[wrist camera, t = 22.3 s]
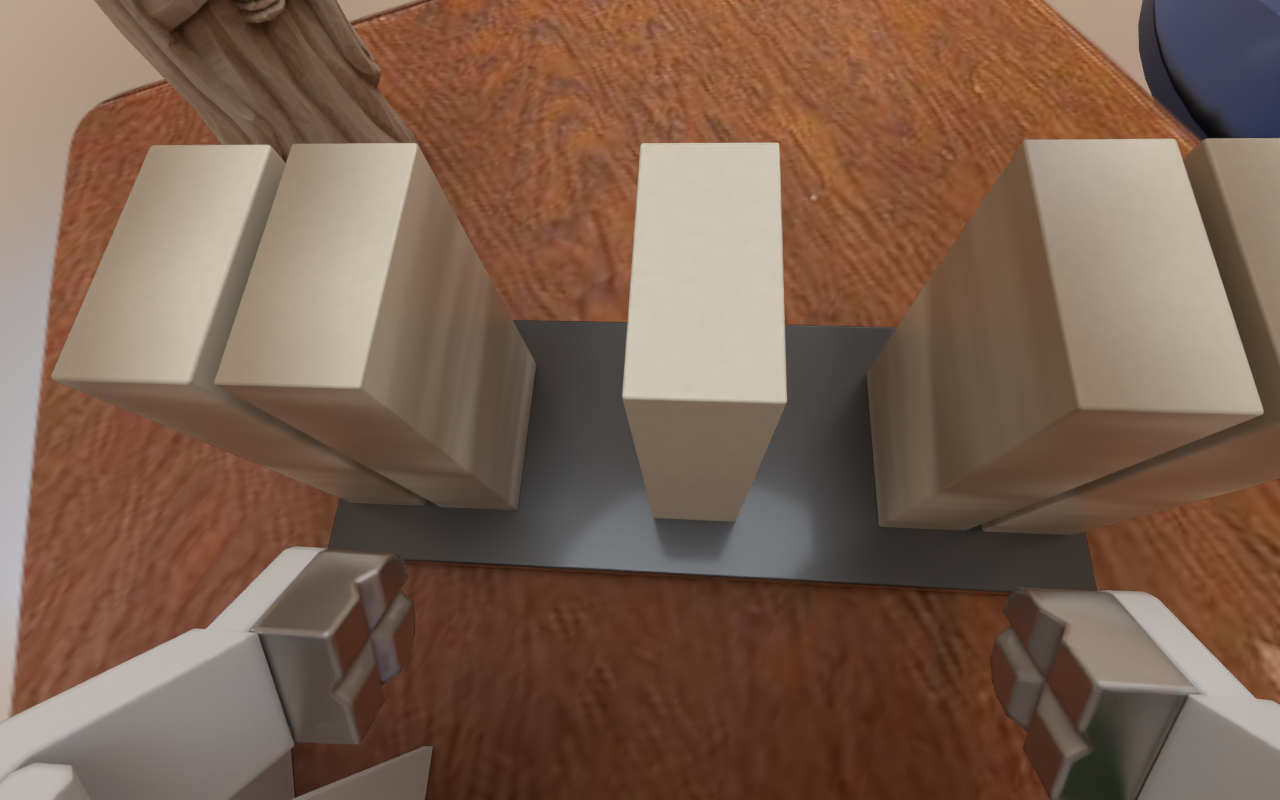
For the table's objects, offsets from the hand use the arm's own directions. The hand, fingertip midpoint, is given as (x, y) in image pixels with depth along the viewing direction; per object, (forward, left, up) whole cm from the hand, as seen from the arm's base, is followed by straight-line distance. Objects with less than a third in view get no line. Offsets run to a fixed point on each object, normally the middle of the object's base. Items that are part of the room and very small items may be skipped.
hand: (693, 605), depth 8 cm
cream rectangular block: (-3, -6, -14) cm, 15 cm away
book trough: (-3, -6, -15) cm, 16 cm away
